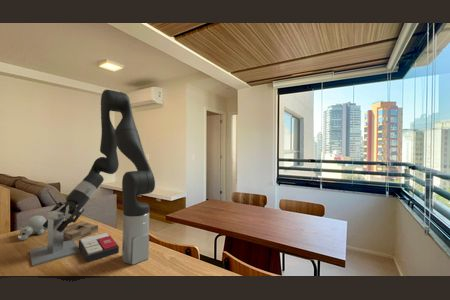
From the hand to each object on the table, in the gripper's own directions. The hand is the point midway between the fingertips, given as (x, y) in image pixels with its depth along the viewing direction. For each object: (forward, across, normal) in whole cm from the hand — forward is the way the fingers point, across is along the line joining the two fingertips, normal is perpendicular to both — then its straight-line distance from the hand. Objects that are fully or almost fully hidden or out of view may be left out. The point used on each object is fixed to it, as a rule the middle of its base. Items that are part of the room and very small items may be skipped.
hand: (51, 229), depth 80 cm
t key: (+5, 0, +7) cm, 9 cm away
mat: (+6, 0, +8) cm, 10 cm away
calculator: (+1, +14, +14) cm, 19 cm away
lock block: (-4, -9, +18) cm, 21 cm away
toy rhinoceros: (+3, -25, +11) cm, 27 cm away
